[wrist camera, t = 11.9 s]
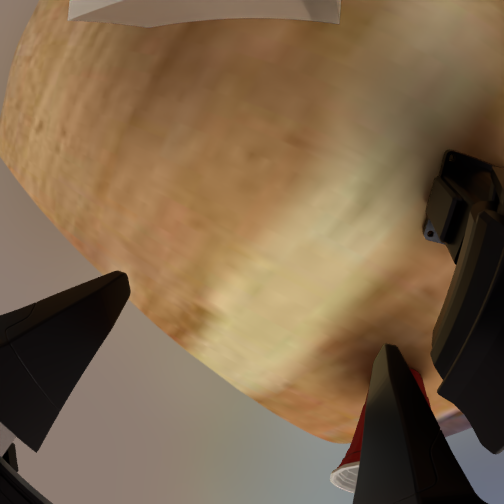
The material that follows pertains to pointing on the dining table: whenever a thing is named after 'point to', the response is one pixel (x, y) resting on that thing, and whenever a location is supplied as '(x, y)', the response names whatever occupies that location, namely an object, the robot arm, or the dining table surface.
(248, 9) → the white step stool
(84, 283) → the robot arm
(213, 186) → the dining table surface
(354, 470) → the plastic cup
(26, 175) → the dining table surface
